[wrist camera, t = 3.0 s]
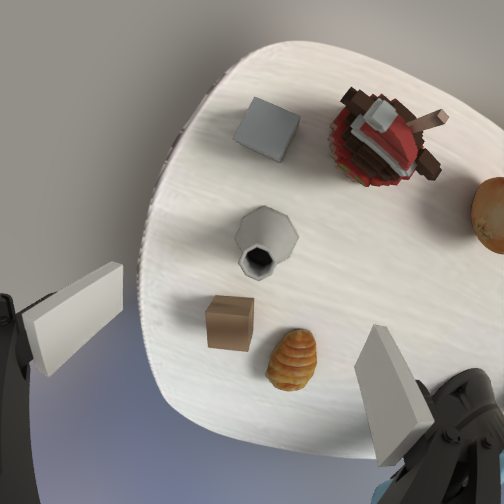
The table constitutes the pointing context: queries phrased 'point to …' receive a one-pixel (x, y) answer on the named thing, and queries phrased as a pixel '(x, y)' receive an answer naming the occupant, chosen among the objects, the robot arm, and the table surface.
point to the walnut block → (230, 323)
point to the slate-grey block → (267, 129)
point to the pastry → (293, 361)
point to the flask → (264, 241)
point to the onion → (490, 214)
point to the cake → (382, 140)
